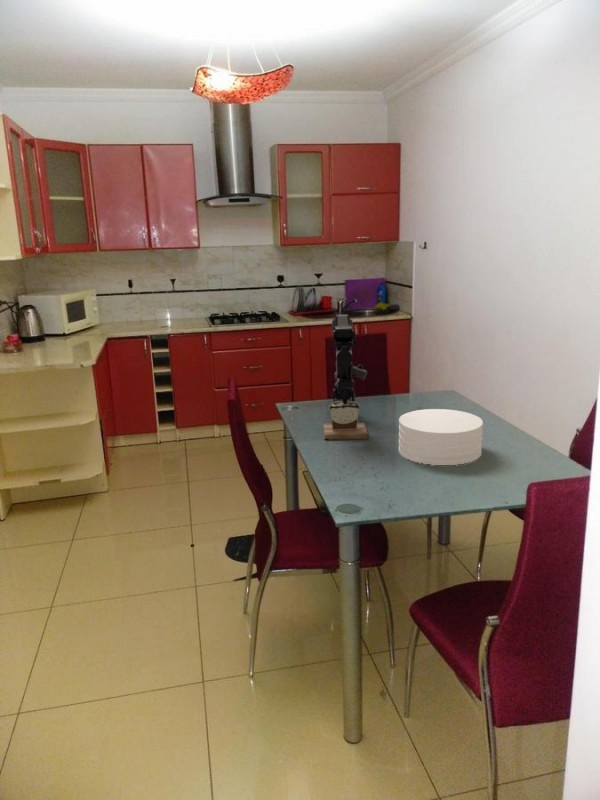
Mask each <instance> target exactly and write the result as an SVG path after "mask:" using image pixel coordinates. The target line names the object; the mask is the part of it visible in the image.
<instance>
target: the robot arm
mask: <svg viewBox="0 0 600 800" xmlns="http://www.w3.org/2000/svg"><path fill="white" fill-rule="evenodd" d="M353 325H354V323H353V319H351V318H350V317H349V314H346V313H345V314H336V317H335V318H334V319H332V321H331V334H332V335H333V337H332V338H333V339H332V340H333V348H336V349H335V355H336V356H335V359H336V360H335V367H336V371H335V372H334V379H335V384H334V388H332V393H333V397H332V399H333V401H332V402H335V401H343V403H344V404H347V401H354V402H356V401H355V400H356V393H355V392H356V391H355V390H354V388H355V381H354V379H353V378H356V379H359V380H362V381H365V380H366V377H367V375H368V371H367V369H364V366H363V365H362V364H357V366H354V364H353V354H352V353H353V352H352V348H354V347H355V345H356V343H357V339H356V338H357V335H356V332H355V330H354V327H353Z"/></svg>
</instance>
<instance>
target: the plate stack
mask: <svg viewBox="0 0 600 800" xmlns="http://www.w3.org/2000/svg"><path fill="white" fill-rule="evenodd" d="M483 426H484V421H483V420H482V418H481V417H479V416H477V415H475V414H472V413H470V412H465V411H461V410H455V409H445V408H443V409H442V408H428V409H417V410H412V411H409V412H406V413H404V414H402V415H400V416H399V418H398V431H399V432H398V453H399V454H400V456H402V457H403V458H405V459H407V460H408V459H409V461H412V462H413V463H417V462H418V463H417V464H421V463H423V464H422V465H426V464H431V465H430V466H435V465H456V466H458V465H457V464H464V463H468V462H471V463H473V462H472V461H474V460H476V459H478V458H479V457H480V456H481V457H482V447H483V446H482V445H483ZM481 457H480V458H481ZM480 458H479V459H480ZM479 459H478V460H479ZM476 461H477V460H476ZM474 462H475V461H474ZM468 464H469V463H468ZM464 465H465V464H464Z"/></svg>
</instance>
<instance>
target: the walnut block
mask: <svg viewBox="0 0 600 800" xmlns="http://www.w3.org/2000/svg"><path fill="white" fill-rule="evenodd" d="M322 426H323V435H324V437H325V438H324V437H323V438H324V440H325V439H329V440H328V441H331V440H330V439H338V440H339V441H340V440H341V439H342V440H365V439H366V440H368V431H367V428H366V425H365V422H358V424H357V429H349V430H332V423H323V425H322ZM338 440H337V441H338Z"/></svg>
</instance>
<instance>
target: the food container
mask: <svg viewBox="0 0 600 800" xmlns="http://www.w3.org/2000/svg"><path fill="white" fill-rule="evenodd" d="M359 410H361V405H360V403H359V402H357V401H355V402H354V401H347V404H344V403H343V401H335V402H333V401H332V402H331V403H329V405H328V411H329V412H330V421H331V424H332V430H349V429H357V424H358V423H359V422H358V421H359V412H360V411H359Z"/></svg>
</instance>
